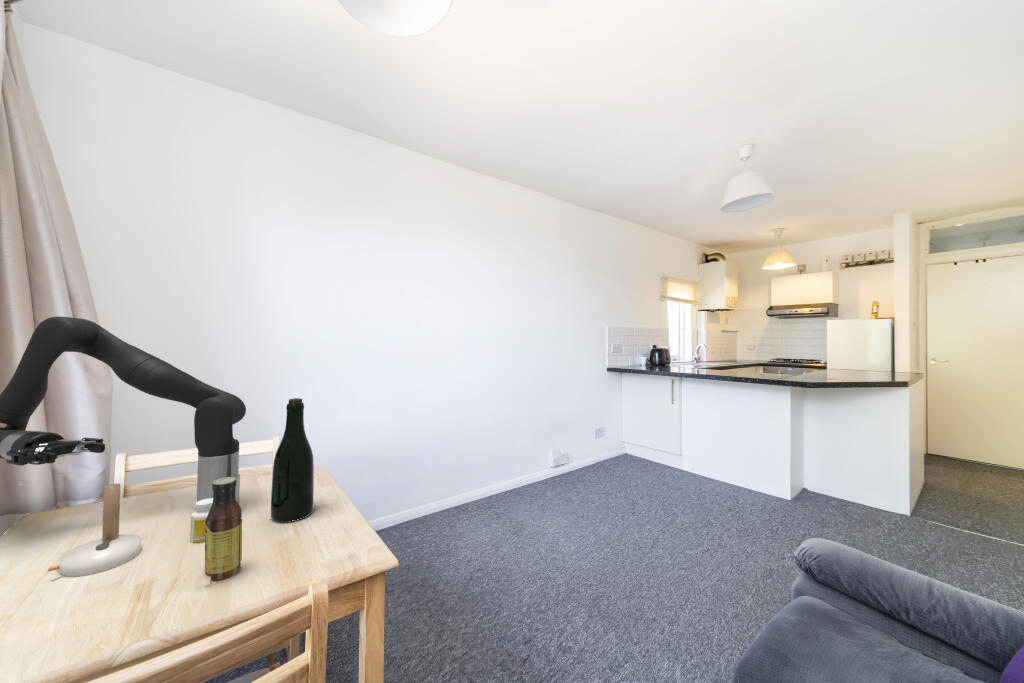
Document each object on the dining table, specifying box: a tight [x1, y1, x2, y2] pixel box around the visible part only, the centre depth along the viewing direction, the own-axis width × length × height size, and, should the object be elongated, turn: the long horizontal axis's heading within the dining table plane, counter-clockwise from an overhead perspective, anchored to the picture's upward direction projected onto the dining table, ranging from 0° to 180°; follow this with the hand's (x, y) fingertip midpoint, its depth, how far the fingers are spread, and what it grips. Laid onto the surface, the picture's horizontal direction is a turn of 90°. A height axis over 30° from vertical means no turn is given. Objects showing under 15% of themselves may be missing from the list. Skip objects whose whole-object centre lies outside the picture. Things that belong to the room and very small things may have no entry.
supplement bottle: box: [189, 498, 213, 544], centre depth 92 cm, size 5×5×10 cm
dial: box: [58, 483, 142, 578], centre depth 82 cm, size 12×12×14 cm
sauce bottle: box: [204, 477, 243, 581], centre depth 80 cm, size 7×6×20 cm
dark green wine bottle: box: [270, 397, 315, 523], centre depth 107 cm, size 10×10×33 cm
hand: (78, 453), depth 89 cm, fingers open, 8 cm apart
